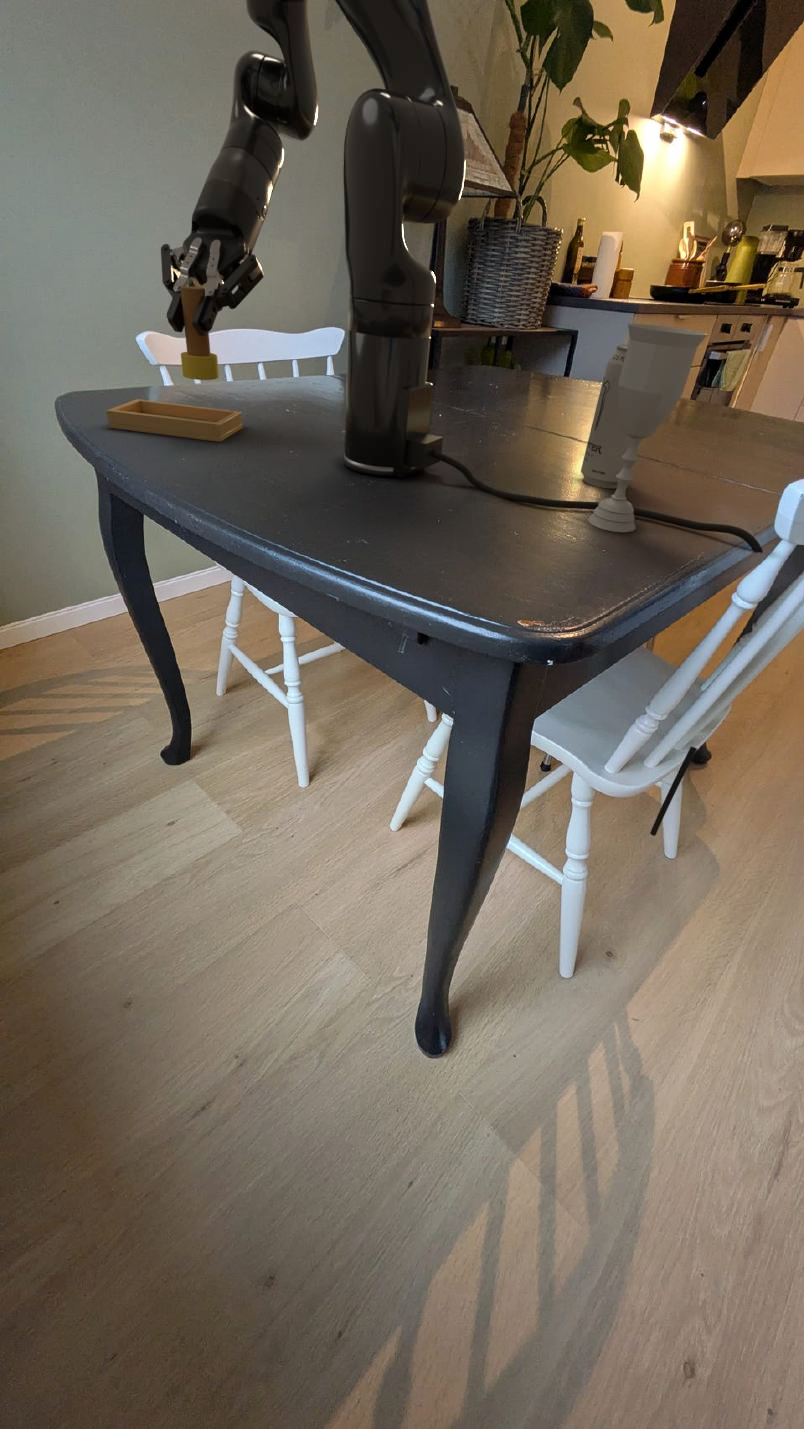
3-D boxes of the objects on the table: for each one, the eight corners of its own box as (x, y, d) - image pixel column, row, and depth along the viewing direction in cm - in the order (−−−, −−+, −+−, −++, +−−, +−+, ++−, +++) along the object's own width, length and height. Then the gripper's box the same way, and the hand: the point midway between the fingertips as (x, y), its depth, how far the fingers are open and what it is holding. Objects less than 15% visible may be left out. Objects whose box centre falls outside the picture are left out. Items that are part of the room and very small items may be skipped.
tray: (242, 428, 87) (241, 411, 86) (220, 442, 81) (218, 424, 80) (139, 415, 89) (137, 399, 87) (109, 427, 82) (106, 410, 81)
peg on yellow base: (187, 380, 78) (177, 288, 73) (179, 373, 81) (169, 284, 76) (223, 380, 80) (216, 290, 74) (213, 373, 83) (206, 286, 77)
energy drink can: (576, 473, 83) (607, 342, 74) (621, 478, 83) (659, 347, 74) (582, 486, 78) (616, 348, 69) (630, 492, 78) (671, 354, 69)
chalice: (565, 513, 69) (611, 322, 59) (615, 510, 72) (668, 325, 61) (607, 538, 64) (665, 333, 53) (658, 533, 66) (725, 336, 56)
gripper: (168, 172, 76) (118, 296, 74) (272, 181, 73) (223, 311, 71) (199, 229, 83) (154, 344, 81) (294, 240, 80) (250, 359, 78)
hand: (186, 328), depth 76 cm, fingers closed on peg on yellow base, 3 cm apart
